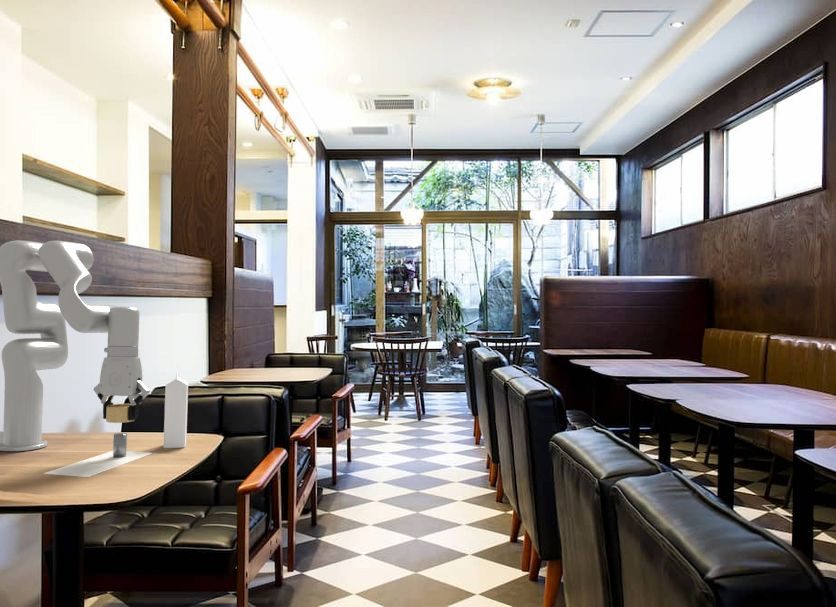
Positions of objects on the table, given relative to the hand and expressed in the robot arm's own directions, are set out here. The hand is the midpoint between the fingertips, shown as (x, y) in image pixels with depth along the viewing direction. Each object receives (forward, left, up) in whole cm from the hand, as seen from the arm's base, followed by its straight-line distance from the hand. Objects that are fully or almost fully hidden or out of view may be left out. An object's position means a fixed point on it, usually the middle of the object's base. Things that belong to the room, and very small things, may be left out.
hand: (120, 418), depth 167 cm
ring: (0, 0, -1) cm, 1 cm away
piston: (0, 0, -10) cm, 10 cm away
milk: (+3, +22, -12) cm, 25 cm away
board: (0, -7, -12) cm, 14 cm away
